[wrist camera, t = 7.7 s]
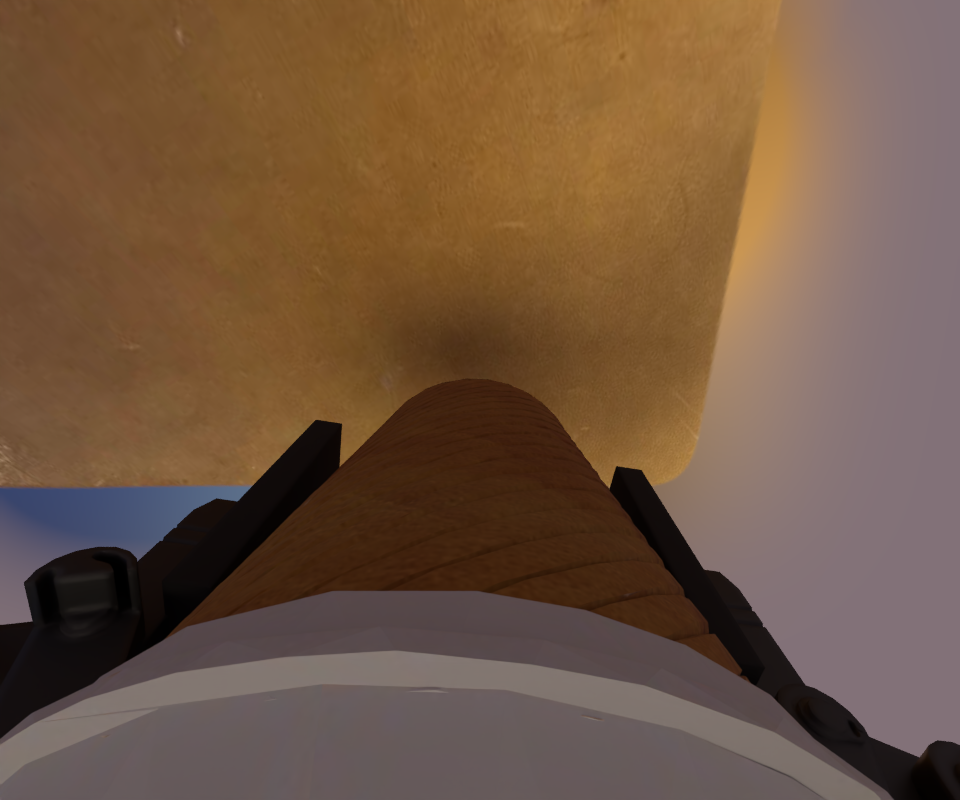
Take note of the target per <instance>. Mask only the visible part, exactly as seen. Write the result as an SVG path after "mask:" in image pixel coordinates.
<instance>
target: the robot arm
mask: <svg viewBox="0 0 960 800" xmlns="http://www.w3.org/2000/svg"><path fill="white" fill-rule="evenodd" d="M341 431H342V424H340V423H334V422H327V421H321V420H315V421H314V422H313V423H312V424H311V425H310V426H309V427H308V429H307V430H306V431H305V432H304V433H303V434H302V435H301V436H300V437H299V438H298V439H297V440H296V441H295V442H294V443H293V444H292V445H291V446H290V447H289V448H288V449H287V450H286V452H285V453H284V454H283V455H282V456H281V457H280V458H279V459H278V460H277V461H276V462H275V463H274V464H273V465H272V466H271V467H270V468H269V469H268V470H267V471H266V472H265V473H264V475H263V476H262V477H261V478H260V479H259V480H258V481H257V482H256V483H255V484H254V485H253V486H252V487H251V488H250V489H249V490H248V491H247V492H246V493H245V494H244V495H243V497H242V498H241V499H240V500H239V501H238V502H236V501H230V500H222V499H215V500H213V501H211V502H209V503H207V504H205V505H203V506H201V507H199V508H197V509H195V510H193V511H192V512H191V513H190V514H189V515H188V516H187V517H185V518H184V519H183V520H182V521H181V522H180V523H179V524H178V525H177V528H174V529H172V530H171V531H170V532H169V533H168V534H167V535H166V536H165V537H164V539H163V541H159V543H157V544H156V545H155V546H154V547H153V548H152V549H151V550H150V551H149V552H147V554H145V555H144V556H143V557H142V558H141V559H140V560H139V561H138V562H137V558H136V557H135V556H134V555H133V554H132V553H131V552H130V551H127V550H124V549H121V548H117V547H95V548H89V549H84V550H79V551H75V552H72V553H70V554H67V555H64V556H62V557H59V558H56V559H54V560H52V561H51V562H49V563H47V564H46V565H44V566H42V567H41V568H39V569H37V570H36V571H35V572H34V573H33V574H32V575H31V576H30V577H29V578H28V579H27V580H26V581H25V582H24V586H25V590H26V594H27V599H28V603H29V607H30V611H31V616H32V620H33V622H24V623H16V624H6V625H0V739H1V738H2V737H3V736H4V735H6V734H7V733H8V732H9V731H11V730H12V729H13V728H14V727H15V726H17V725H18V724H19V723H20V722H21V721H23V720H24V719H25V718H26V717H28V716H29V715H30V714H31V713H33V712H35V711H37V710H39V709H42V708H44V707H46V706H48V705H50V704H52V703H54V702H56V701H58V700H60V699H62V698H64V697H67V696H69V695H71V694H73V693H75V692H77V691H79V690H81V689H83V688H85V687H87V686H89V685H92V684H94V683H95V682H96V681H97V680H98V679H99V678H100V677H101V676H103V675H104V674H106V673H108V672H110V671H111V670H113V669H115V668H116V667H118V666H120V665H122V664H123V663H125V662H127V661H129V660H130V659H132V658H134V657H135V656H137V655H139V654H141V653H142V652H144V651H146V650H147V649H149V648H151V647H153V646H154V645H156V644H158V643H160V642H161V641H163V640H164V639H165V638H166V637H167V636H168V635H169V634H170V633H171V632H172V631H173V630H174V629H175V628H176V627H177V626H178V625H179V624H180V623H181V622H182V621H183V620H184V619H185V618H186V617H187V616H188V615H190V614H191V613H192V612H193V611H194V610H195V609H196V608H197V607H198V606H199V605H200V604H201V603H202V602H203V601H204V600H205V599H206V598H207V597H208V596H209V595H210V594H211V593H212V592H213V591H214V590H215V589H216V587H217V586H218V585H219V584H220V583H222V582H223V581H224V580H225V579H226V578H228V577H229V576H230V575H231V574H232V573H233V572H234V571H235V570H236V569H237V568H238V567H239V566H240V565H241V564H242V563H243V562H244V561H245V560H246V559H247V558H248V557H249V556H250V555H251V554H252V553H253V552H254V551H255V550H256V549H257V548H258V547H259V546H260V545H261V544H262V543H263V542H264V541H265V540H266V539H267V538H268V537H269V536H270V535H271V534H272V533H273V532H274V531H275V530H276V529H277V528H278V527H279V526H280V525H281V524H282V523H283V522H284V521H285V520H286V519H287V518H288V517H289V516H290V515H291V514H292V513H293V512H294V511H295V510H296V509H297V508H298V507H300V506H301V505H302V504H303V503H304V501H305V500H306V499H307V498H308V497H309V496H310V495H311V494H312V493H313V492H315V491H316V490H317V489H318V488H319V487H320V486H321V485H322V484H323V483H324V482H325V481H326V480H327V479H328V478H329V477H330V476H331V475H332V474H333V473H334V472H335V471H336V470H337V469H338V468H339V465H340V448H341ZM610 492H611V494H612V495H613V496H614V497H615V498H616V499H617V501H618V502H619V503H620V505H621V507H622V509H624V511H625V512H626V513H627V514H628V515H629V516H630V518H631V520H632V522H633V524H634V525H635V526H636V527H637V529H638V530H639V531H640V532H641V533H642V534H643V535H644V537H645V538H646V540H647V543H648V545H649V546H650V547H651V548H652V549H654V551H655V552H656V553H657V554H658V556H659V557H660V558H661V559H662V561H663V564H664V567H665V569H666V570H668V571H669V572H670V573H671V575H672V576H673V577H674V578H675V579H676V581H677V582H678V583H679V584H680V585H681V587H682V588H683V590H684V595H685V597H686V598H687V599H689V600H690V601H691V602H692V603H693V604H694V606H695V607H696V608H697V609H698V611H699V612H700V613H701V614H702V615H703V617H704V618H705V619H706V620H707V622H708V628H709V634H715V635H716V636H717V637H718V639H719V640H720V641H721V643H722V644H723V645H724V647H725V648H726V649H727V651H728V652H729V653H730V655H731V656H732V657H733V659H734V660H735V661H736V663H737V664H738V665H739V667H740V668H741V669H742V672H741V674H740V676H746V677H747V679H748V680H749V681H750V683H751V684H753V685H754V686H756V687H758V688H759V689H761V690H763V691H764V692H766V693H768V694H770V695H771V696H772V697H773V698H774V699H775V700H776V701H777V702H778V703H779V704H780V705H781V706H782V707H783V708H784V709H785V710H786V711H787V712H788V713H789V714H790V715H791V716H792V717H793V718H794V719H795V720H796V721H797V722H798V723H799V724H800V725H801V726H802V727H803V728H804V729H805V730H806V731H807V732H808V733H809V734H810V735H811V736H812V737H813V738H814V739H815V740H816V741H818V742H819V743H820V744H822V745H823V746H825V747H826V748H827V749H829V750H830V751H831V752H833V753H834V754H836V755H837V756H838V757H840V758H841V759H843V760H844V761H845V762H847V763H848V764H849V765H851V766H852V767H854V768H855V769H856V770H858V771H859V772H861V773H862V774H863V775H865V776H866V777H867V778H869V779H870V780H872V781H873V782H874V783H876V784H877V785H879V786H880V787H881V788H883V789H884V790H886V791H887V792H888V793H889V795H890V796H891V797H892V798H893V799H894V800H960V745H958V744H955V743H953V742H946V741H935V742H934V743H932V744H930V745H929V746H928V747H927V749H926V750H925V751H924V753H923V754H922V755H921V757H920V758H919V757H917V756H914V755H912V754H910V753H907V752H904V751H902V750H900V749H897V748H895V747H892V746H890V745H887V744H885V743H883V742H880V741H878V740H875V739H873V738H871V737H869V736H868V734H867V732H866V731H865V729H864V727H863V726H862V725H861V724H860V723H859V722H858V720H857V719H856V718H855V717H854V716H853V715H852V714H851V713H850V712H849V711H848V710H847V709H846V708H844V707H843V706H842V705H840V704H839V703H838V702H836V700H834V699H833V698H831V697H829V696H827V695H826V694H824V693H822V692H821V691H818V690H817V689H815V688H812V687H809V686H806V685H805V684H804V683H803V681H802V680H801V678H800V677H799V675H798V674H797V672H796V671H795V669H794V668H793V667H792V665H791V664H790V662H789V661H788V659H787V658H786V656H785V655H784V654H783V652H782V651H781V649H780V648H779V646H778V645H777V643H776V642H775V641H774V639H773V638H772V636H771V635H770V633H769V632H768V630H767V629H766V628H765V627H763V623H762V622H761V620H760V619H759V617H758V616H757V615H756V613H755V612H754V611H752V607H751V606H750V605H749V603H748V601H747V600H746V599H745V597H744V596H743V594H742V593H741V591H740V590H739V589H738V588H737V587H736V586H735V585H734V584H733V583H731V582H730V581H729V580H728V579H727V578H726V577H725V576H723V575H722V574H721V573H720V572H716V571H709V570H704V569H703V568H702V566H701V565H700V563H699V561H698V560H697V558H696V557H695V555H694V553H693V552H692V550H691V548H690V547H689V545H688V544H687V542H686V540H685V539H684V537H683V536H682V534H681V533H680V531H679V529H678V528H677V526H676V525H675V523H674V521H673V520H672V518H671V517H670V515H669V513H668V512H667V510H666V509H665V507H664V505H663V504H662V502H661V501H660V499H659V497H658V496H657V494H656V493H655V491H654V489H653V488H652V486H651V485H650V483H649V481H648V480H647V478H646V477H645V475H644V473H643V472H642V470H637V469H631V468H625V467H618V466H616V469H615V472H614V476H613V479H612V483H611V486H610Z"/></svg>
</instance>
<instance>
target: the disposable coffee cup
mask: <svg viewBox="0 0 960 800" xmlns="http://www.w3.org/2000/svg"><path fill="white" fill-rule="evenodd" d="M741 672H742V669H741V668H740V667H739V665H738V664H737V663H736V661H735V660H734V659H733V657H732V656H731V655H730V653H729V652H728V651H727V649H726V648H725V647H724V645H723V644H722V643H721V641H720V640H719V639H718V637H717V636H716V635H715V634H709V628H708V622H707V620H706V619H705V618H704V617H703V615H702V614H701V613H700V612H699V611H698V609H697V608H696V607H695V606H694V604H693V603H692V602H691V601H690V600H689V599H687V598H686V597H685V595H684V590H683V588H682V587H681V585H680V584H679V583H678V582H677V581H676V579H675V578H674V577H673V576H672V575H671V573H670V572H669V571H668V570H666V569H665V567H664V564H663V561H662V559H661V558H660V557H659V556H658V554H657V553H656V552H655V551H654V549H652V548H651V547H650V546H649V545H648V543H647V540H646V538H645V537H644V535H643V534H642V533H641V532H640V531H639V530H638V529H637V527H636V526H635V525H634V524H633V522H632V520H631V518H630V516H629V515H628V514H627V513H626V512H625V511H624V509H622V507H621V505H620V503H619V502H618V501H617V499H616V498H615V497H614V496H613V495H612V494H611V492H610V490H609V488H608V487H607V486H606V485H605V483H604V482H603V481H602V480H601V479H600V477H599V475H598V473H597V472H596V471H595V470H594V469H593V468H592V466H591V464H590V463H589V461H588V460H587V459H586V458H585V457H584V455H583V453H582V452H581V451H580V450H579V449H578V447H577V446H576V444H575V442H574V441H573V440H572V439H571V437H570V436H569V434H568V433H567V432H566V431H565V430H564V428H563V426H562V425H561V423H560V422H559V420H558V418H557V417H556V416H555V415H554V414H553V413H552V412H551V411H550V410H549V409H548V408H547V407H546V406H545V405H544V404H543V403H542V402H540V401H539V400H537V399H536V398H535V397H533V396H532V395H530V394H529V393H527V392H525V391H523V390H520V389H518V388H516V387H514V386H511V385H509V384H505V383H501V382H497V381H492V380H488V379H462V380H456V381H451V382H445V383H441V384H438V385H435V386H432V387H430V388H427V389H425V390H423V391H422V392H420V393H419V394H417V395H416V396H414V397H412V398H411V399H409V400H408V401H406V402H405V403H404V404H403V405H402V406H401V407H400V408H399V409H398V410H397V411H396V412H395V413H394V414H393V415H392V416H391V417H390V418H389V419H388V420H387V421H386V422H385V423H384V424H383V425H382V426H381V427H380V428H379V429H378V430H377V431H376V432H375V433H374V434H373V435H372V436H371V437H370V438H369V439H368V440H367V441H366V442H365V443H364V444H363V445H362V446H361V447H360V448H359V449H358V450H357V451H356V452H355V453H354V454H353V455H352V456H351V457H350V458H349V459H348V460H347V461H346V462H345V463H344V464H342V465H341V466H340V467H339V468H338V469H337V470H336V471H335V472H334V473H333V474H332V475H331V476H330V477H329V478H328V479H327V480H326V481H325V482H324V483H323V484H322V485H321V486H320V487H319V488H318V489H317V490H316V491H315V492H313V493H312V494H311V495H310V496H309V497H308V498H307V499H306V500H305V501H304V503H303V504H302V505H301V506H300V507H298V508H297V509H296V510H295V511H294V512H293V513H292V514H291V515H290V516H289V517H288V518H287V519H286V520H285V521H284V522H283V523H282V524H281V525H280V526H279V527H278V528H277V529H276V530H275V531H274V532H273V533H272V534H271V535H270V536H269V537H268V538H267V539H266V540H265V541H264V542H263V543H262V544H261V545H260V546H259V547H258V548H257V549H256V550H255V551H254V552H253V553H252V554H251V555H250V556H249V557H248V558H247V559H246V560H245V561H244V562H243V563H242V564H241V565H240V566H239V567H238V568H237V569H236V570H235V571H234V572H233V573H232V574H231V575H230V576H229V577H228V578H226V579H225V580H224V581H223V582H222V583H220V584H219V585H218V586H217V587H216V589H215V590H214V591H213V592H212V593H211V594H210V595H209V596H208V597H207V598H206V599H205V600H204V601H203V602H202V603H201V604H200V605H199V606H198V607H197V608H196V609H195V610H194V611H193V612H192V613H191V614H190V615H188V616H187V617H186V618H185V619H184V620H183V621H182V622H181V623H180V624H179V625H178V626H177V627H176V628H175V629H174V630H173V631H172V632H171V633H170V634H169V635H168V636H167V637H166V638H165V639H164V640H163V641H161V642H160V643H158V644H156V645H154V646H153V647H151V648H149V649H147V650H146V651H144V652H142V653H141V654H139V655H137V656H135V657H134V658H132V659H130V660H129V661H127V662H125V663H123V664H122V665H120V666H118V667H116V668H115V669H113V670H111V671H110V672H108V673H106V674H104V675H103V676H101V677H100V678H99V679H98V680H97V681H96V682H95V683H94V684H92V685H89V686H87V687H85V688H83V689H81V690H79V691H77V692H75V693H73V694H71V695H69V696H67V697H64V698H62V699H60V700H58V701H56V702H54V703H52V704H50V705H48V706H46V707H44V708H42V709H39V710H37V711H35V712H33V713H31V714H30V715H29V716H28V717H26V718H25V719H24V720H23V721H21V722H20V723H19V724H18V725H17V726H15V727H14V728H13V729H12V730H11V731H9V732H8V733H7V734H6V735H4V736H3V737H2V738H1V739H0V800H894V799H893V798H892V797H891V796H890V795H889V793H888V792H887V791H886V790H884V789H883V788H881V787H880V786H879V785H877V784H876V783H874V782H873V781H872V780H870V779H869V778H867V777H866V776H865V775H863V774H862V773H861V772H859V771H858V770H856V769H855V768H854V767H852V766H851V765H849V764H848V763H847V762H845V761H844V760H843V759H841V758H840V757H838V756H837V755H836V754H834V753H833V752H831V751H830V750H829V749H827V748H826V747H825V746H823V745H822V744H820V743H819V742H818V741H816V740H815V739H814V738H813V737H812V736H811V735H810V734H809V733H808V732H807V731H806V730H805V729H804V728H803V727H802V726H801V725H800V724H799V723H798V722H797V721H796V720H795V719H794V718H793V717H792V716H791V715H790V714H789V713H788V712H787V711H786V710H785V709H784V708H783V707H782V706H781V705H780V704H779V703H778V702H777V701H776V700H775V699H774V698H773V697H772V696H771V695H770V694H768V693H766V692H764V691H763V690H761V689H759V688H758V687H756V686H754V685H753V684H751V683H750V681H749V680H748V679H747V677H746V676H740V674H741Z"/></svg>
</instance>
